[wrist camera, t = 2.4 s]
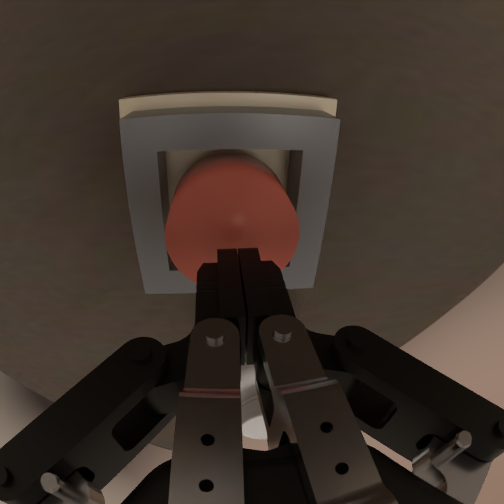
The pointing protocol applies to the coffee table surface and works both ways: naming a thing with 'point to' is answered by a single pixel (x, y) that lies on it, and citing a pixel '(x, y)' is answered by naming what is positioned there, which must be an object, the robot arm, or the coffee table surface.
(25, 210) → the coffee table surface
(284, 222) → the dome button
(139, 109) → the dome console
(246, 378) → the supplement bottle
